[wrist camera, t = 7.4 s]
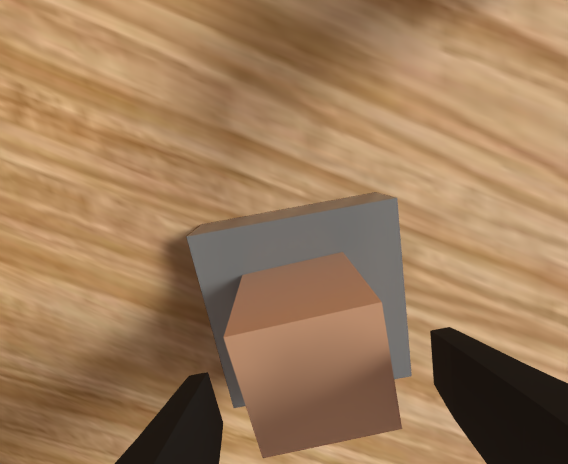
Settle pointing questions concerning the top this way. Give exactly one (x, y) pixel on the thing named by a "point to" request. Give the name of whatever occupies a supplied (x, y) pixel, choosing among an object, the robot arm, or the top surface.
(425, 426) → the top surface
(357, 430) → the terracotta block
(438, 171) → the top surface
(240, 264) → the plate
